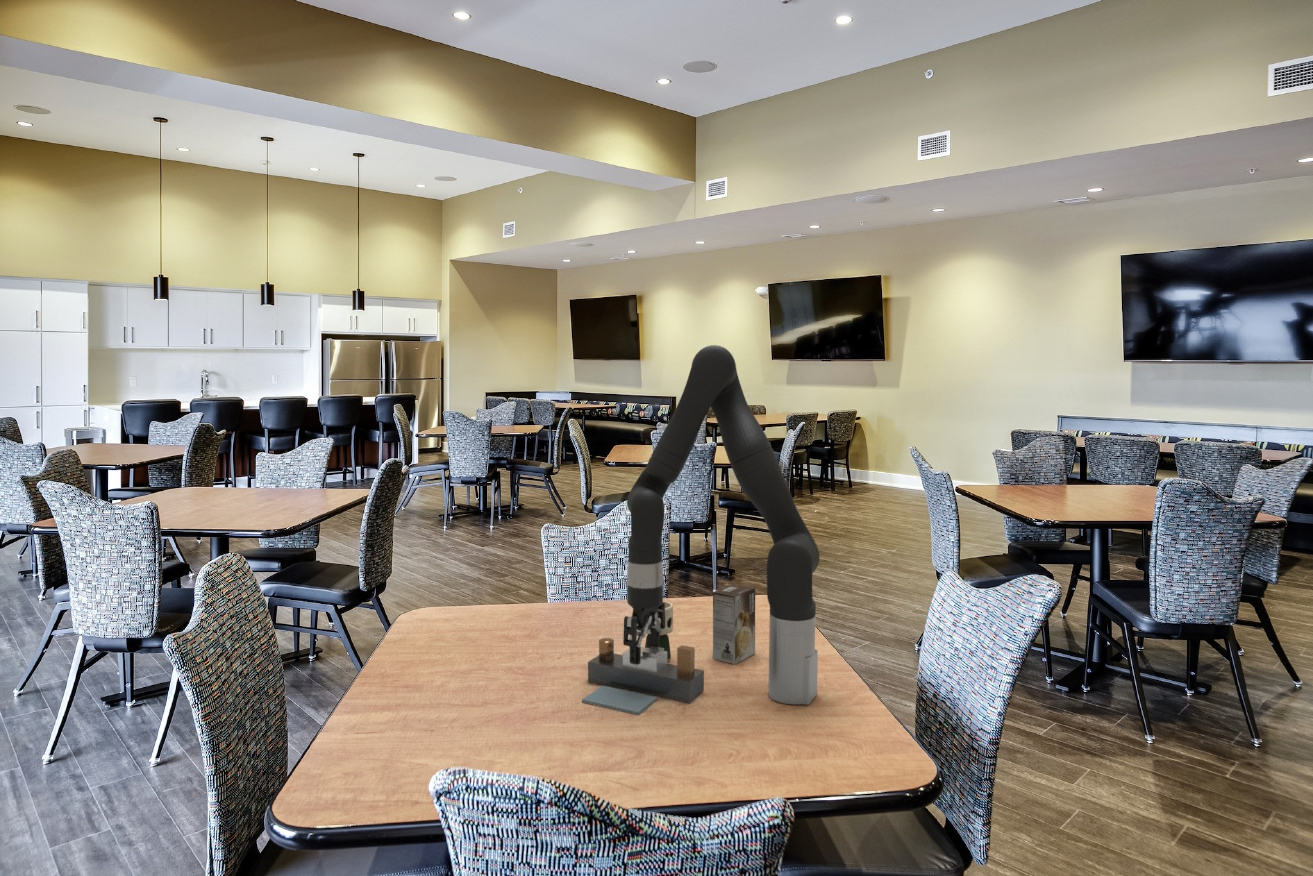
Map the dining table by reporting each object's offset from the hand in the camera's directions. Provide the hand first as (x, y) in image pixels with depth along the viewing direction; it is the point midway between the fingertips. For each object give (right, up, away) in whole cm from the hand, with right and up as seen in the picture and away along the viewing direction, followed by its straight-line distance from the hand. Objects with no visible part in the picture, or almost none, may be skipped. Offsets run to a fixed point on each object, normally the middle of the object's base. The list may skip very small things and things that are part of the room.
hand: (644, 657), depth 170 cm
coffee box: (+21, -5, +19) cm, 28 cm away
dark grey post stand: (0, -6, 0) cm, 6 cm away
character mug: (+3, -5, +17) cm, 17 cm away
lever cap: (0, -2, 0) cm, 2 cm away
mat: (-5, -7, -7) cm, 11 cm away
